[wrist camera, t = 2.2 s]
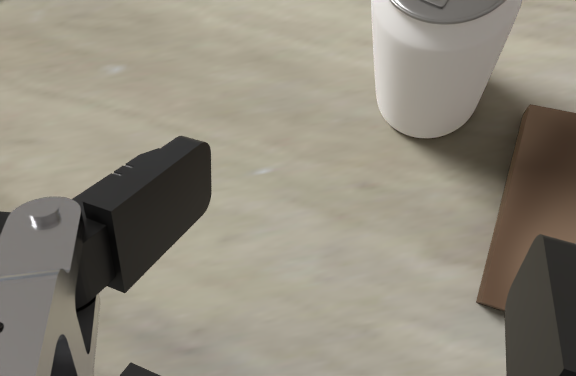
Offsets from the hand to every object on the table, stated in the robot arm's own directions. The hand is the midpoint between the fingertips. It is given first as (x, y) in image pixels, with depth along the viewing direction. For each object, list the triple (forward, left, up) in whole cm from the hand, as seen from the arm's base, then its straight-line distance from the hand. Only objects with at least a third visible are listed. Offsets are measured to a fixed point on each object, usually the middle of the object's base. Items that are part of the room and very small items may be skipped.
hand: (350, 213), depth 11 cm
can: (0, -12, -18) cm, 21 cm away
